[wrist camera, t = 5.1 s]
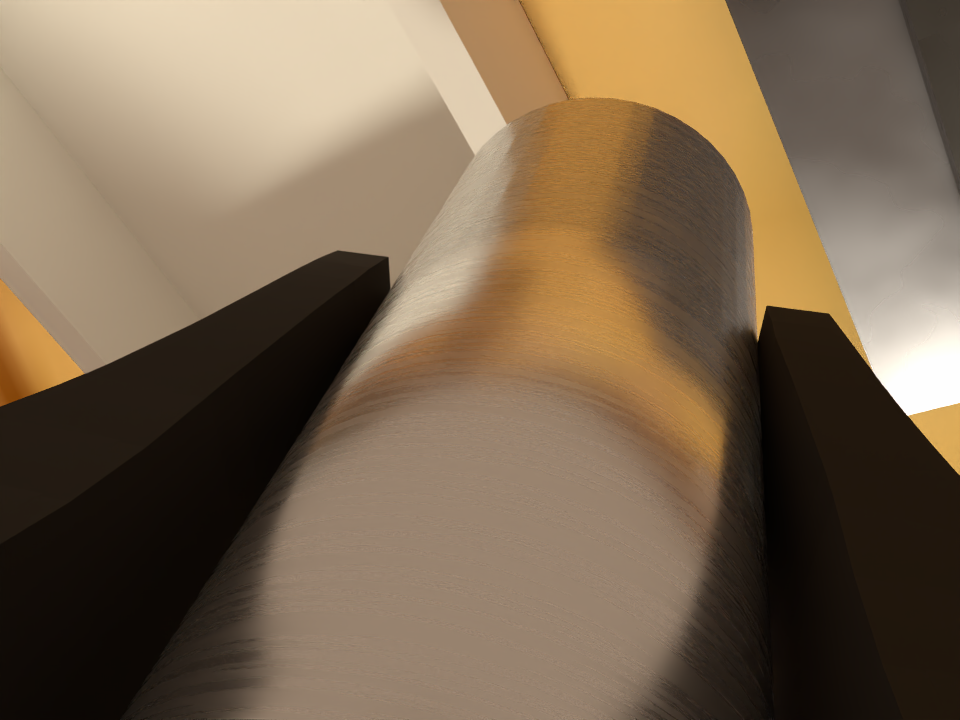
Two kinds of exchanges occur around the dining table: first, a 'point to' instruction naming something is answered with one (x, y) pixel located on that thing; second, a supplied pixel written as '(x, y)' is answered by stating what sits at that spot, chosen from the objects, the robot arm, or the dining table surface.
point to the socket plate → (875, 167)
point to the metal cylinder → (520, 464)
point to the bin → (234, 145)
